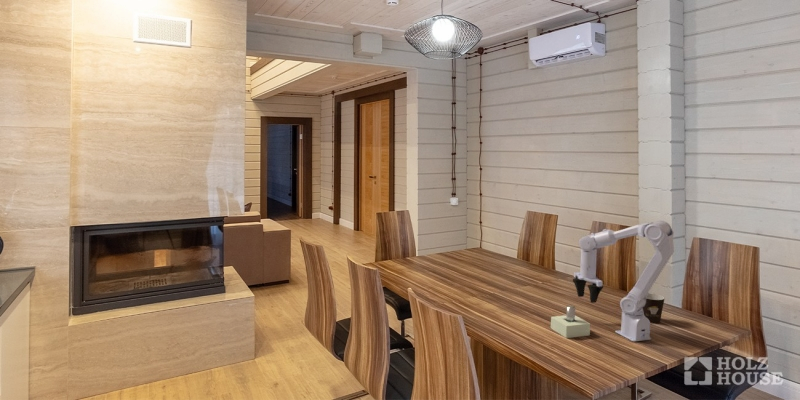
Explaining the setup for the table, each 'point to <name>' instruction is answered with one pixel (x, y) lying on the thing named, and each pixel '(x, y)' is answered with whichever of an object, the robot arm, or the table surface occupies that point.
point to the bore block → (570, 326)
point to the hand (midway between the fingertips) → (586, 299)
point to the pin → (570, 314)
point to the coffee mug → (653, 307)
